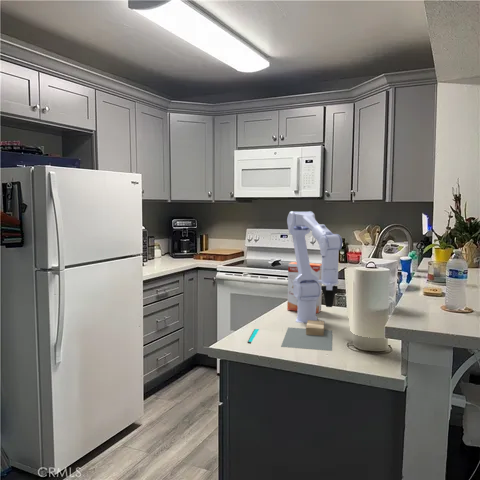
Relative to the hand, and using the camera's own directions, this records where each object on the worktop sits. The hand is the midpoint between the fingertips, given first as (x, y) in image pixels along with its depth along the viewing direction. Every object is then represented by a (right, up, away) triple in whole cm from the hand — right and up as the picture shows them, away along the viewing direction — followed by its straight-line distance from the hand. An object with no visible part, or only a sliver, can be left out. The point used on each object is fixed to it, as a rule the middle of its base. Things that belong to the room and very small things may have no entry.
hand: (329, 306), depth 147 cm
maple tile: (-5, -8, -2) cm, 10 cm away
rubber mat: (-8, -10, -5) cm, 14 cm away
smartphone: (-24, -11, -3) cm, 26 cm away
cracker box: (-3, -8, +34) cm, 35 cm away
